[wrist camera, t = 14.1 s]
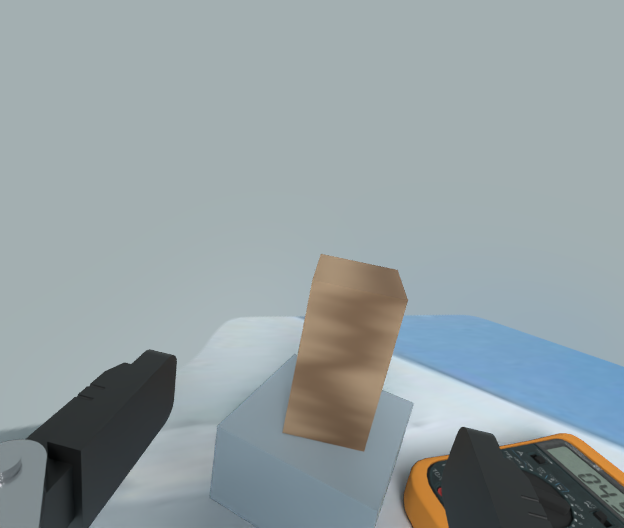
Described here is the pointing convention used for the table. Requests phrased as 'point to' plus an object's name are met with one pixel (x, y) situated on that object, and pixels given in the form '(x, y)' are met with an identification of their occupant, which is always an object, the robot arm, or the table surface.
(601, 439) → the table surface
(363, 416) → the walnut block
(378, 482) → the slate box
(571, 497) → the multimeter
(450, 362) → the table surface
